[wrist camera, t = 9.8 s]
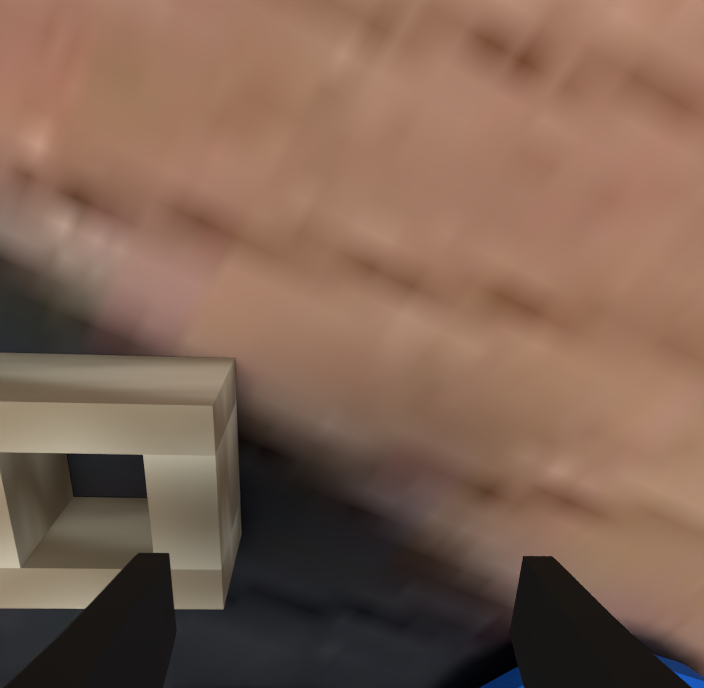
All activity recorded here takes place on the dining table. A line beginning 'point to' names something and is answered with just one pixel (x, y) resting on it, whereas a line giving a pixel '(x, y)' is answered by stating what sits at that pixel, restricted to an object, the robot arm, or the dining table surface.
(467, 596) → the dining table surface
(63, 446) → the hole block
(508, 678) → the blue round knobbed lid
